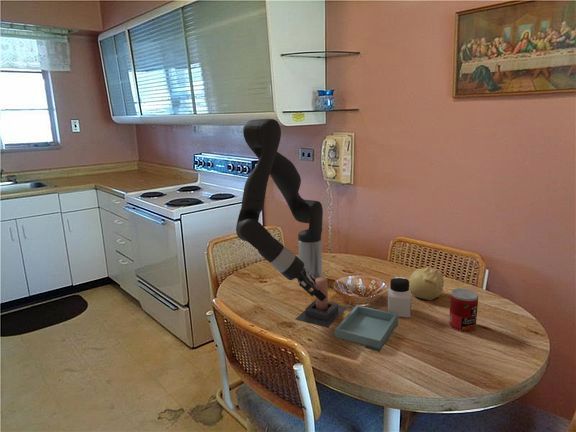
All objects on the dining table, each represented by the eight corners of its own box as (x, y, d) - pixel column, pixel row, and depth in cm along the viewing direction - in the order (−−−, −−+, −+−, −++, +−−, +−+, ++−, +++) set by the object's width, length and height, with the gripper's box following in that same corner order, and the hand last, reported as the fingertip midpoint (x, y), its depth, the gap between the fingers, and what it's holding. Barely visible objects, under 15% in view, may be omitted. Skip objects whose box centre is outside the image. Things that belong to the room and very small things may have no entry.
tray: (356, 314, 138) (356, 305, 137) (397, 323, 131) (398, 313, 130) (334, 339, 123) (334, 329, 122) (379, 351, 116) (380, 340, 115)
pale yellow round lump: (439, 305, 143) (440, 276, 140) (404, 298, 149) (405, 270, 146) (446, 293, 152) (447, 265, 150) (413, 287, 158) (414, 260, 156)
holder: (316, 302, 148) (316, 293, 147) (347, 309, 142) (347, 300, 141) (294, 322, 135) (294, 312, 134) (328, 330, 129) (327, 320, 128)
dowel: (319, 309, 141) (318, 276, 138) (329, 311, 139) (329, 278, 136) (314, 314, 137) (313, 280, 135) (324, 316, 135) (324, 282, 132)
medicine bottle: (410, 318, 135) (412, 284, 132) (388, 316, 136) (389, 282, 133) (408, 308, 142) (410, 275, 139) (387, 306, 143) (388, 274, 140)
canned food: (464, 334, 124) (466, 301, 121) (443, 323, 131) (445, 291, 128) (481, 328, 127) (484, 295, 124) (460, 317, 134) (462, 286, 131)
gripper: (296, 262, 126) (333, 294, 129) (292, 247, 139) (326, 277, 143) (280, 279, 126) (317, 311, 130) (277, 263, 140) (311, 292, 144)
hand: (322, 293), depth 136 cm, fingers open, 8 cm apart
